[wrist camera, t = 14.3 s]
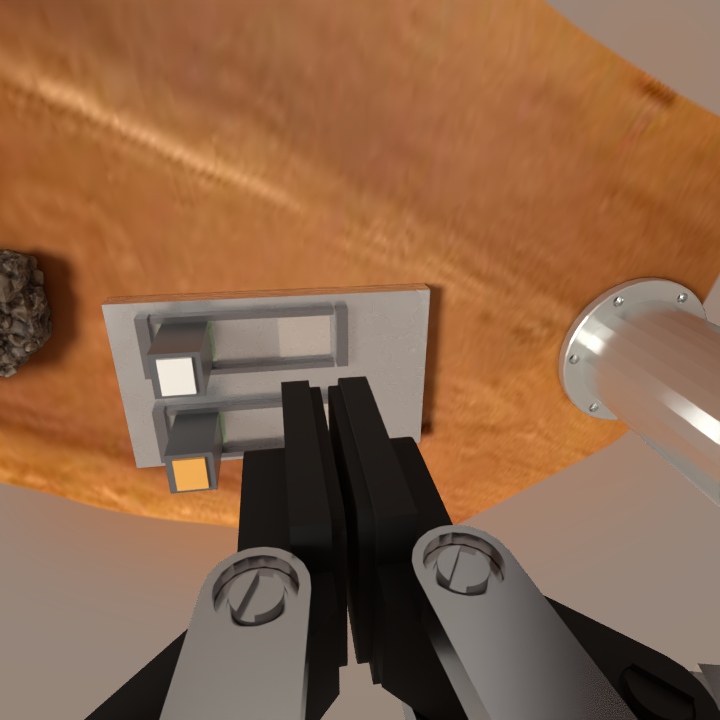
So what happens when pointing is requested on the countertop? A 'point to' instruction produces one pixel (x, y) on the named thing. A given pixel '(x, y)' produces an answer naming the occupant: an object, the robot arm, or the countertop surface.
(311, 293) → the panel
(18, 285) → the concrete sample
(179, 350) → the handle
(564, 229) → the countertop surface
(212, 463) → the handle
